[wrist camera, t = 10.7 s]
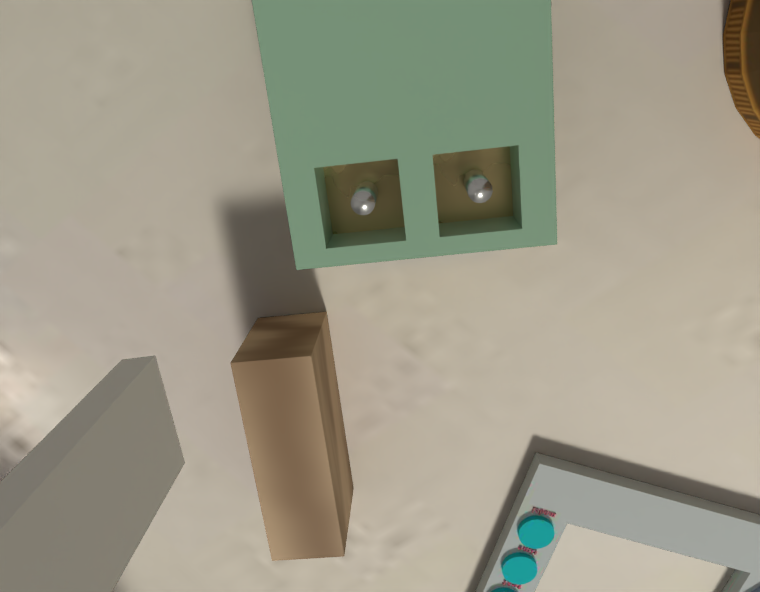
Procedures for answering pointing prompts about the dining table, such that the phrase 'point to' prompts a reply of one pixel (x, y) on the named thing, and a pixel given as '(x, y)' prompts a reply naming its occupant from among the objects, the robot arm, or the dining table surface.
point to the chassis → (452, 183)
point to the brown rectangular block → (295, 434)
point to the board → (409, 115)
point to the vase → (744, 59)
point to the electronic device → (616, 524)
